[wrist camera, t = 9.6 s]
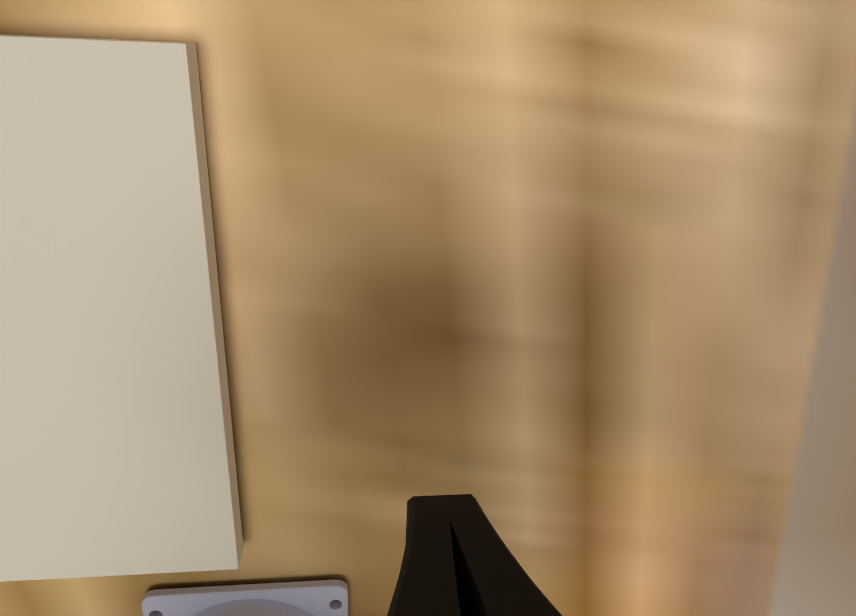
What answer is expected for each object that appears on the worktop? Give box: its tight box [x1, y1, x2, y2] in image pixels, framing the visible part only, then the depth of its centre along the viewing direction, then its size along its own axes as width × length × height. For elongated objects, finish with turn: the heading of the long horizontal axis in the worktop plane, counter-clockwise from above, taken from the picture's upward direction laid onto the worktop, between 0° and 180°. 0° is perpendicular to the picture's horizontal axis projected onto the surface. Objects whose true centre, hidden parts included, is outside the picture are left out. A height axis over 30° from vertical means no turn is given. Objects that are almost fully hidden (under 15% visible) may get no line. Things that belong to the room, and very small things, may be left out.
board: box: [0, 34, 243, 582], centre depth 20 cm, size 18×13×1 cm
